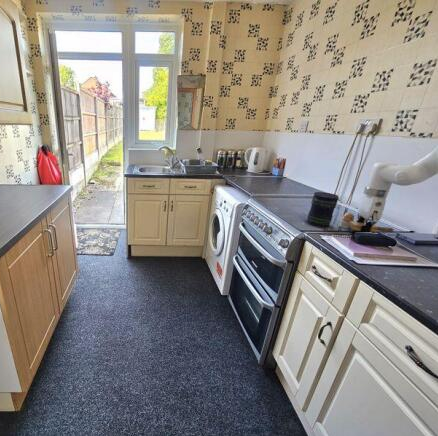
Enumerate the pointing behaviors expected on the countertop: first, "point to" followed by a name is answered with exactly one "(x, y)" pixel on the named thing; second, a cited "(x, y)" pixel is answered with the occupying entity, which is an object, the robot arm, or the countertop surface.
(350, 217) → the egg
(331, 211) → the storage jar
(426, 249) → the countertop surface
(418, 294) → the countertop surface
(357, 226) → the brush
